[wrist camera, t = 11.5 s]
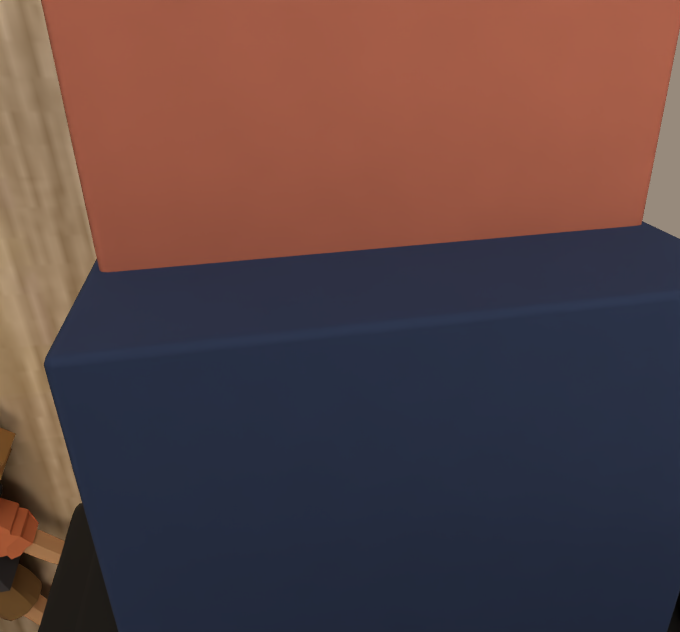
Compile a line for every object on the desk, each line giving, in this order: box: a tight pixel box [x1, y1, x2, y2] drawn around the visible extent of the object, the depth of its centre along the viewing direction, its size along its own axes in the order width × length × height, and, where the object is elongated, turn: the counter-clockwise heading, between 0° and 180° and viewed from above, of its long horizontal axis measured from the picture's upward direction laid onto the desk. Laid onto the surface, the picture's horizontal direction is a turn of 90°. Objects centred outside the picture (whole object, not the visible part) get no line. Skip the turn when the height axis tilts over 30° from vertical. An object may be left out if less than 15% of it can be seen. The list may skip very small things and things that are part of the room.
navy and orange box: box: [41, 0, 680, 632], centre depth 8 cm, size 13×5×5 cm, turn 2°
